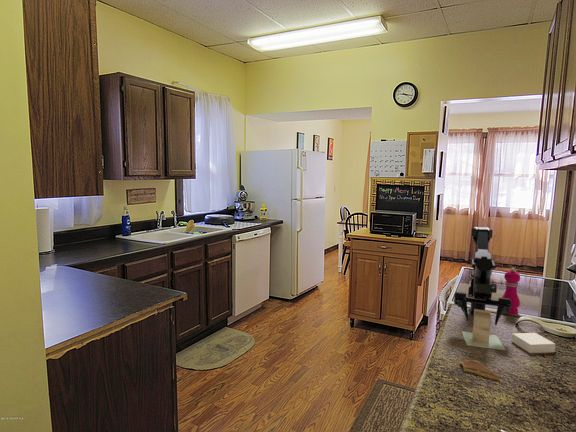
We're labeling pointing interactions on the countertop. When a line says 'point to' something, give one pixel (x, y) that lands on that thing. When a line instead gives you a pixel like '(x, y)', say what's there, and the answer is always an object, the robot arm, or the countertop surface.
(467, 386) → the countertop surface
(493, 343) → the mat
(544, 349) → the stand
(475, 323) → the oak block
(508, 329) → the countertop surface
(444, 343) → the countertop surface
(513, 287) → the pepper mill
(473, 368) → the shard
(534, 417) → the countertop surface
